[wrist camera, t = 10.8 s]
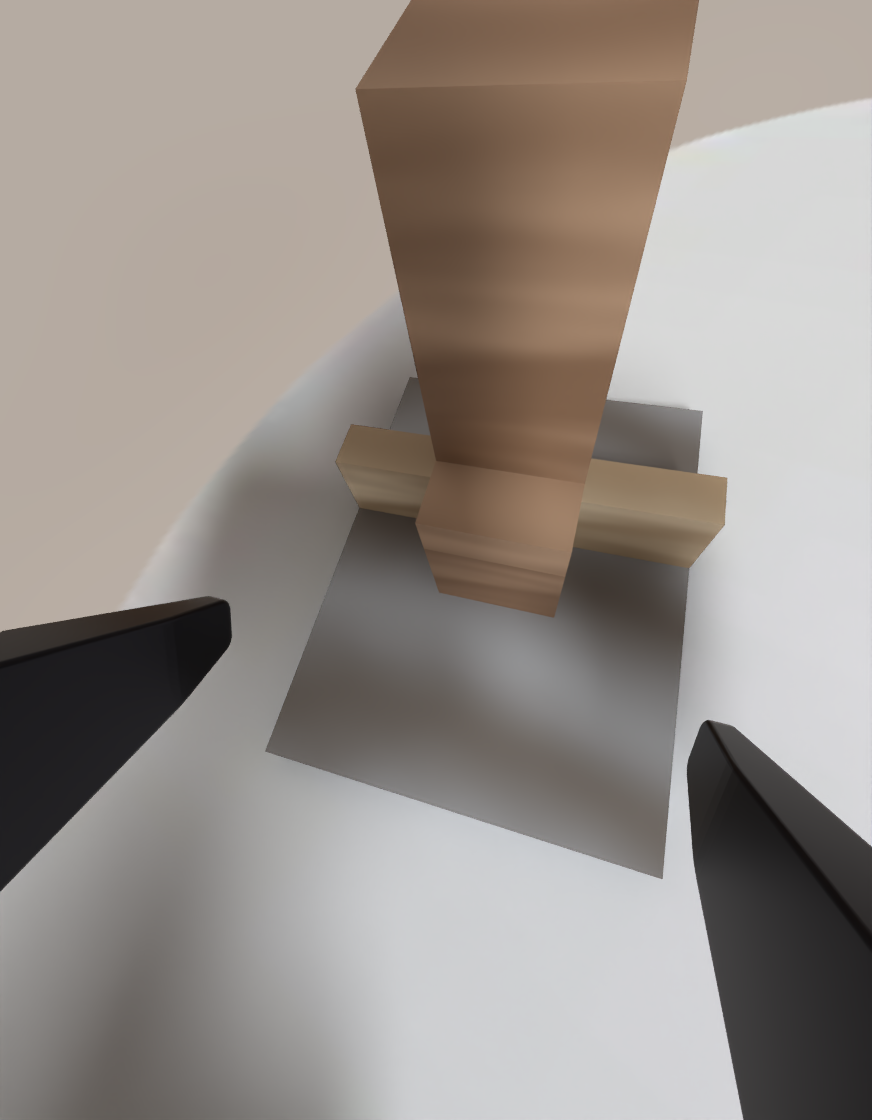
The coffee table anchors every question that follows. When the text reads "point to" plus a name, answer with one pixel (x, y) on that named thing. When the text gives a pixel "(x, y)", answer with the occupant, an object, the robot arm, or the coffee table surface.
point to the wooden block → (518, 254)
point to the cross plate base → (514, 647)
